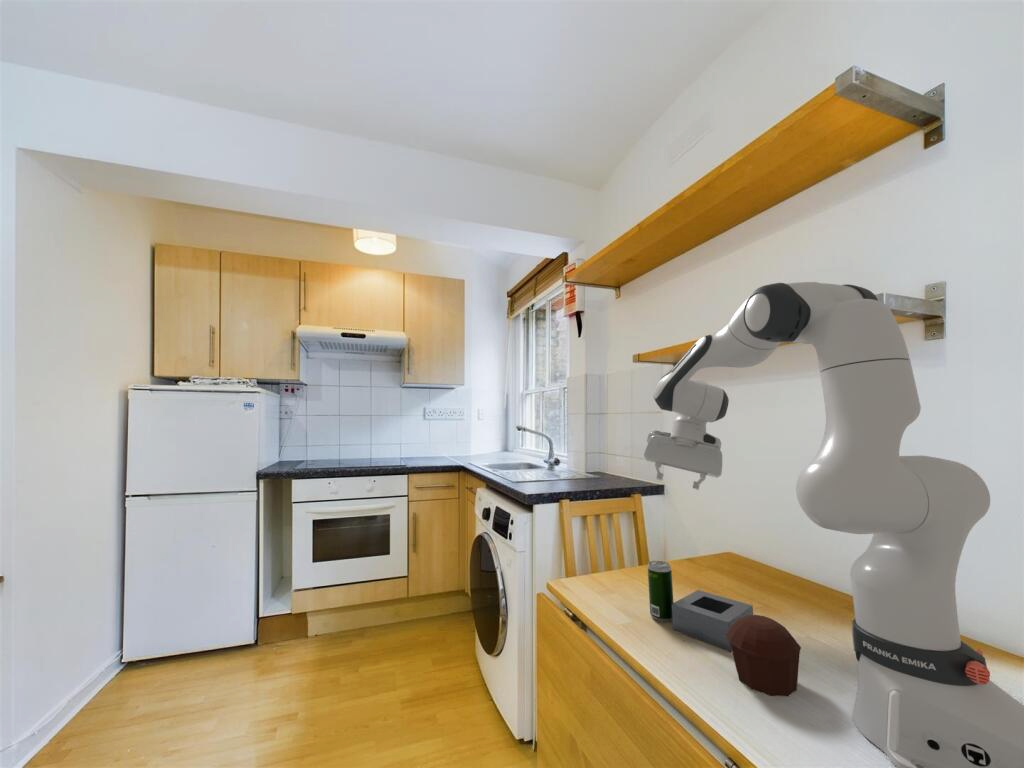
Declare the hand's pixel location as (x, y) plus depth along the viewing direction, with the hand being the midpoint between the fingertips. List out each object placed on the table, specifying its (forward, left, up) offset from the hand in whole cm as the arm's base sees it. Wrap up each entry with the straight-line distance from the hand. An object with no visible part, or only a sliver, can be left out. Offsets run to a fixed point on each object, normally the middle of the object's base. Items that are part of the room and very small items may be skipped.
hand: (676, 484), depth 113 cm
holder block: (-14, +14, -29) cm, 35 cm away
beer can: (-3, +16, -29) cm, 33 cm away
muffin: (-28, +25, -29) cm, 48 cm away
